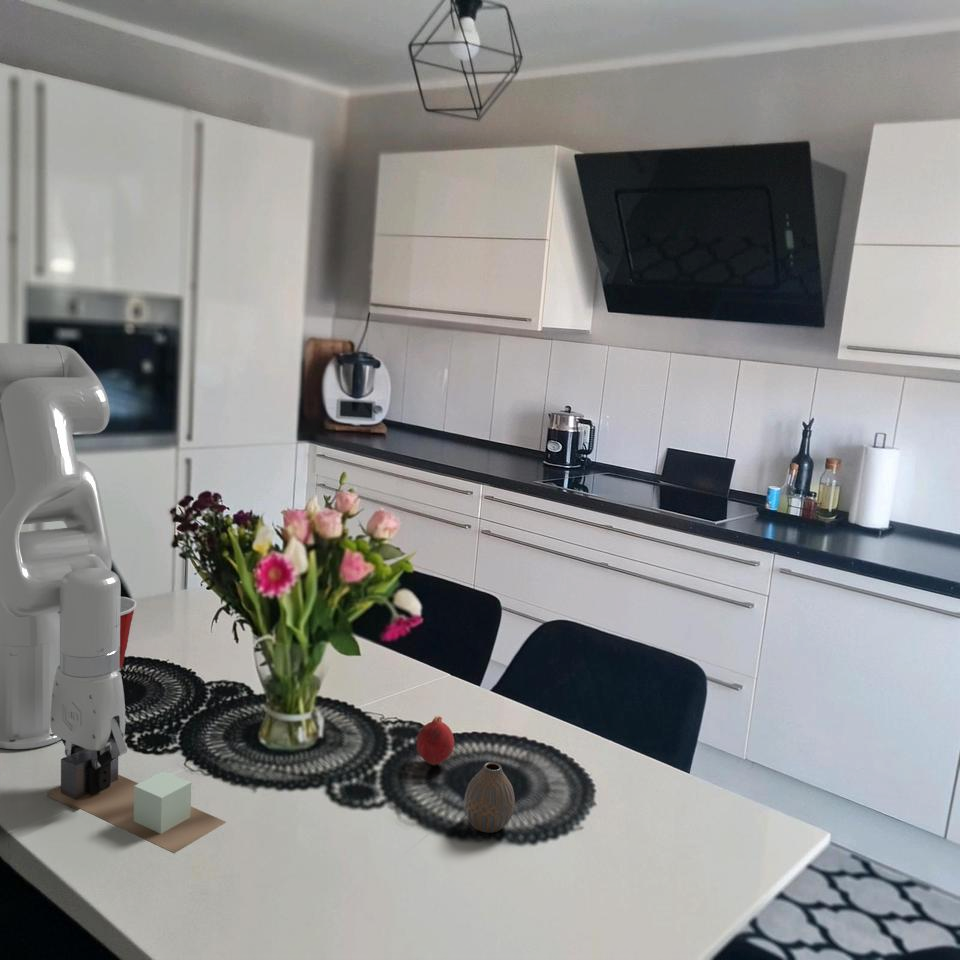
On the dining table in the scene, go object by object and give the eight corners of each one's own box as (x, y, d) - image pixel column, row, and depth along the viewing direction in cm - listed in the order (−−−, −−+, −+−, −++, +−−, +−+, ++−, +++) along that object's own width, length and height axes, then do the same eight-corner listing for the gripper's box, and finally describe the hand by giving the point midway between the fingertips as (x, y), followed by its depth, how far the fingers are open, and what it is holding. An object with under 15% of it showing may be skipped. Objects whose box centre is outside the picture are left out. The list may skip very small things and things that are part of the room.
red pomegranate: (447, 777, 145) (451, 727, 143) (410, 770, 146) (414, 721, 144) (455, 759, 150) (459, 712, 149) (420, 753, 151) (424, 706, 150)
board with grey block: (47, 795, 130) (47, 758, 129) (101, 770, 138) (102, 735, 137) (174, 856, 119) (175, 816, 118) (226, 825, 127) (227, 787, 126)
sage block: (133, 821, 125) (134, 785, 124) (163, 805, 129) (164, 770, 128) (160, 833, 123) (161, 797, 122) (190, 817, 127) (191, 782, 126)
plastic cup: (70, 658, 176) (71, 596, 174) (132, 654, 181) (133, 593, 179) (73, 681, 167) (73, 616, 165) (138, 676, 171) (139, 612, 169)
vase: (518, 819, 134) (524, 761, 133) (503, 843, 128) (509, 783, 126) (472, 807, 136) (477, 750, 135) (455, 830, 130) (460, 771, 128)
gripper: (25, 653, 130) (26, 778, 133) (109, 684, 122) (107, 816, 125) (72, 638, 136) (72, 758, 140) (155, 667, 128) (152, 793, 132)
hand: (89, 784), depth 132 cm, fingers open, 3 cm apart
